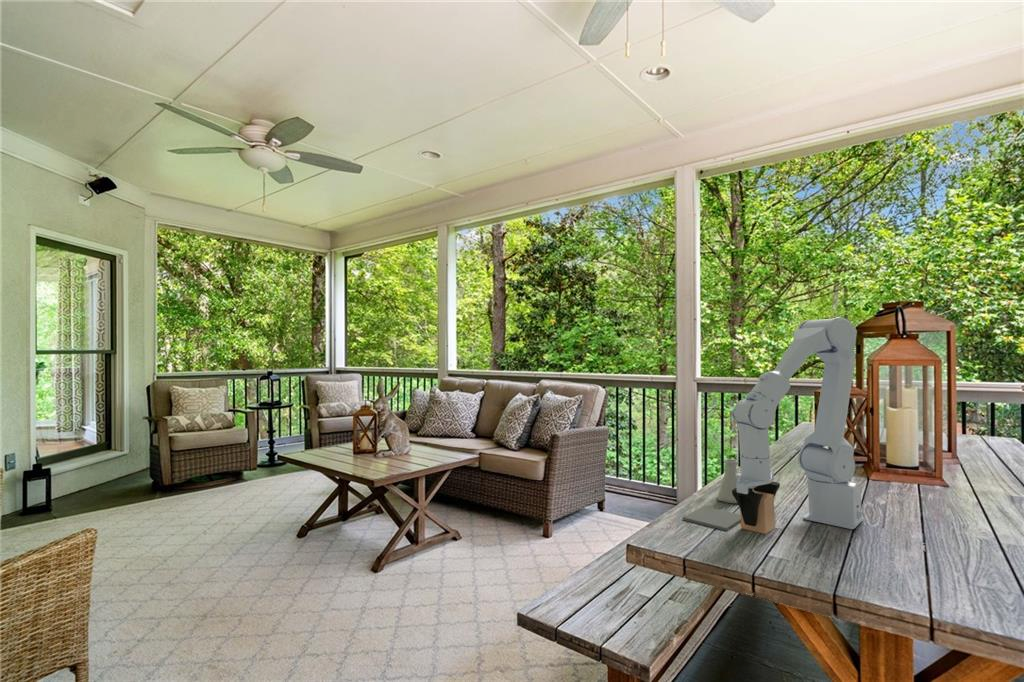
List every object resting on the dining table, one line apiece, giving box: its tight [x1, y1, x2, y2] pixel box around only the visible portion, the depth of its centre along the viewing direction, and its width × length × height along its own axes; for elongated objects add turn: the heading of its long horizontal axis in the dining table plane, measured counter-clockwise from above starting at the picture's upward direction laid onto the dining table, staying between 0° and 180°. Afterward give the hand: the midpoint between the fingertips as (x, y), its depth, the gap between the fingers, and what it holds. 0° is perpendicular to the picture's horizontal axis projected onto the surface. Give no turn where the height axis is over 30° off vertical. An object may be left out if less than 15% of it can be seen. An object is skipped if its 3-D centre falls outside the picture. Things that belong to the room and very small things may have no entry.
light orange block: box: [739, 490, 776, 535], centre depth 103 cm, size 5×5×7 cm
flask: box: [717, 458, 739, 504], centre depth 122 cm, size 7×7×10 cm
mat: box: [682, 506, 741, 532], centre depth 109 cm, size 10×10×1 cm
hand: (757, 520), depth 103 cm, fingers open, 7 cm apart
